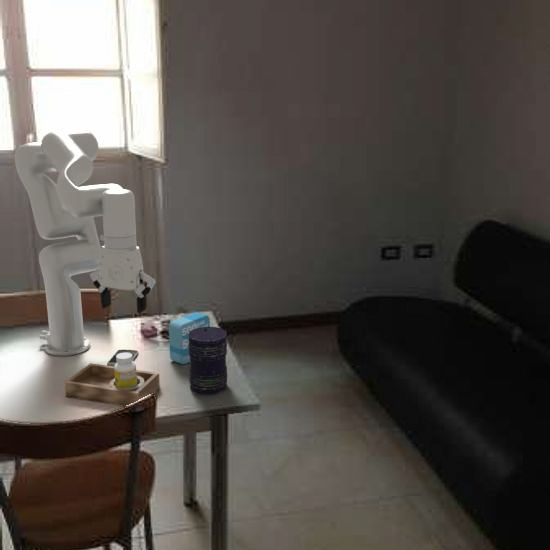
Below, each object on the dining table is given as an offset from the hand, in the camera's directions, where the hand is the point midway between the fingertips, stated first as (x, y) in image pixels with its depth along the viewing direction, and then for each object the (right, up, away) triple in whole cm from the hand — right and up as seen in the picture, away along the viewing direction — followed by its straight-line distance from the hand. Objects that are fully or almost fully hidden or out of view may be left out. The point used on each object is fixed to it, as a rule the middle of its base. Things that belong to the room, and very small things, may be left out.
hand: (124, 308), depth 162 cm
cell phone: (-6, -16, +25) cm, 30 cm away
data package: (+13, -15, +27) cm, 34 cm away
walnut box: (-4, -21, +6) cm, 23 cm away
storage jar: (+20, -21, +9) cm, 30 cm away
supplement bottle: (0, -21, +5) cm, 22 cm away
